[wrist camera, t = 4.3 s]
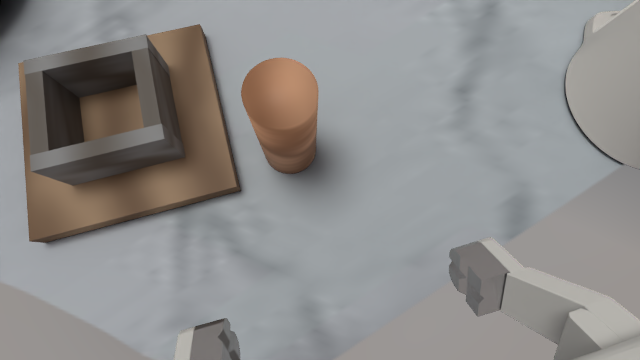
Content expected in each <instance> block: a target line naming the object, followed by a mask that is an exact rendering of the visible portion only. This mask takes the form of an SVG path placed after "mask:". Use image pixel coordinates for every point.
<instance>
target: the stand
mask: <svg viewBox="0 0 640 360" xmlns="http://www.w3.org/2000/svg"><path fill="white" fill-rule="evenodd" d="M18 64H19V80H20V96H21V112H22V129H23V145H24V161H25V177H26V193H27V209H28V225H29V241H32V242H44V243H46V242H49V241H53V240H57V239H61V238H64V237H68V236H72V235H76V234H79V233H83V232H87V231H91V230H94V229H98V228H102V227H106V226H109V225H113V224H117V223H121V222H125V221H128V220H132V219H136V218H140V217H143V216H147V215H151V214H155V213H158V212H162V211H166V210H170V209H173V208H177V207H181V206H185V205H188V204H192V203H196V202H200V201H203V200H207V199H211V198H215V197H219V196H222V195H226V194H230V193H234V192H237V191H241V190H240V186H239V181H238V177H237V173H236V168H235V164H234V160H233V155H232V151H231V146H230V142H229V138H228V133H227V129H226V125H225V120H224V116H223V112H222V107H221V103H220V99H219V94H218V90H217V85H216V81H215V77H214V72H213V68H212V64H211V59H210V55H209V51H208V46H207V42H206V37H205V34H204V32H203V30H202V28H201V26H200V24H199V25H194V26H189V27H185V28H180V29H176V30H171V31H166V32H162V33H157V34H152V35H148V36H147V35H141V36H136V37H132V38H127V39H122V40H118V41H113V42H108V43H104V44H99V45H94V46H90V47H85V48H80V49H76V50H71V51H66V52H62V53H57V54H53V55H48V56H43V57H39V58H34V59H29V60H25V61H24V62H22V63H18Z"/></svg>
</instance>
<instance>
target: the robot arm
mask: <svg viewBox="0 0 640 360" xmlns="http://www.w3.org/2000/svg"><path fill="white" fill-rule="evenodd" d="M565 87H566V96H567V100H568V104H569V107H570V109H571V112H572V114H573V116H574V118H575V120H576V122H577V123H578V125H579V126H580V128H581V129H582V131H583V132H584V133H585V134H586V135H587V137H588V138H589V139H590V140H591V141H592V142H593V143H594V144H595V145H596V146H597V147H599V148H600V149H601V150H602V151H604V152H605V153H606V154H608V155H609V156H611V157H612V158H614V159H616V160H617V161H619V162H621V163H623V164H626V165H628V166H630V167H634V168H636V169H640V0H635V1H634V2H633V3H631V4H630V5H629V6H627V7H626V8H625V9H623V10H622V11H609V12H600V13H598V14H596V15H595V16H593V17H592V18H591V19H589V20H588V21H587V23H586V26H585V31H584V41H583V43H582V45H581V47H580V48H579V50H578V51H577V52H576V54H575V55H574V56H573V58H572V60H571V62H570V64H569V66H568V70H567V73H566V81H565ZM449 257H450V259H451V260H452V262H451V264H450V265H449V274H450V277H451V280H452V282H453V284H454V286H455V287H456V289H457V290H458V291H459V292H461V293H463V294H465V295H466V302H467V303H468V305H469V306H470V307H471V309H472V310H473V311H474V313H475V314H476V315H477V316H481V315H485V314H488V313H492V312H495V311H498V310H501V312H503V313H505V314H506V315H508V316H510V317H512V318H513V319H515V320H516V321H518V322H520V323H522V324H523V325H525V326H527V327H528V328H530V329H532V330H534V331H535V332H537V333H539V334H540V335H542V336H544V337H545V338H547V339H549V340H551V341H552V342H554V343H556V344H558V347H557V350H556V353H555V356H554V360H640V320H639V319H637V318H636V317H635V316H634V315H632V314H631V313H630V312H629V311H627V310H626V309H625V308H624V307H622V306H621V305H620V304H619V303H618V302H616V301H615V300H614V299H613V298H611V297H609V296H606V295H604V294H601V293H598V292H595V291H593V290H590V289H587V288H585V287H582V286H579V285H576V284H574V283H571V282H568V281H566V280H563V279H560V278H558V277H555V276H552V275H550V274H547V273H544V272H541V271H539V270H536V269H533V268H531V267H527V268H524V267H523V266H522V265H521V264H520V263H519V262H518V261H517V260H516V259H515V258H514V257H513V256H511V254H510V253H508V252H507V251H506V250H505V249H504V248H503V247H502V246H501V245H500V244H499V243H498V242H497V241H496V240H494V239H493V238H491V237H489V238H486V239H483V240H479V241H477V242H472V243H469V244H466V245H463V246H459V247H456V248H453V249H451V250H450V253H449ZM174 360H240V348H239V342H238V339H237V336H236V334H235V332H233V331H231V330H230V323H229V321H228V319H227V318H224V319H221V320H217V321H213V322H210V323H206V324H203V325H199V326H196V327H192V328H189V329H185V330H182V331H180V333H179V335H178V339H177V344H176V350H175V355H174Z"/></svg>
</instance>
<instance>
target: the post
mask: <svg viewBox="0 0 640 360" xmlns="http://www.w3.org/2000/svg"><path fill="white" fill-rule="evenodd" d="M241 96H242V101H243V104H244V107H245V109H246V112H247V114H248V116H249V119H250V121H251V123H252V126H253V128H254V131H255V133H256V135H257V138H258V140H259V142H260V145H261V147H262V150H263V152H264V154H265V157H266V159H267V161H268V163H269V164H270V165H271V166H272V167H273V168H274V169H275V170H277V171H279V172H282V173H286V174H294V173H298V172H301V171H303V170H304V169H306V168H307V167H308V166H309V165H310V164H311V163H312V161H313V159H314V157H315V152H316V132H317V110H318V85H317V82H316V79H315V77H314V75H313V74H312V72H311V71H310V70H309V69H308V68H307V67H306V66H304V65H303V64H301V63H300V62H297V61H295V60H292V59H287V58H273V59H269V60H266V61H263V62H261V63H259V64H258V65H256V66H255V67H254V68H253V69H251V70H250V72H249V73H248V74H247V76H246V77H245V79H244V82H243V85H242V90H241Z"/></svg>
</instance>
